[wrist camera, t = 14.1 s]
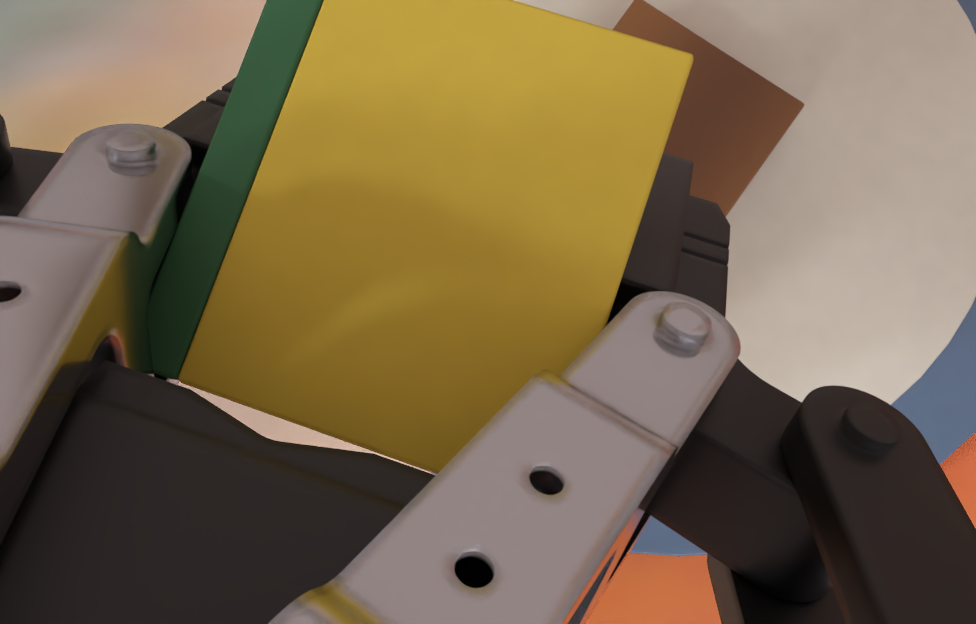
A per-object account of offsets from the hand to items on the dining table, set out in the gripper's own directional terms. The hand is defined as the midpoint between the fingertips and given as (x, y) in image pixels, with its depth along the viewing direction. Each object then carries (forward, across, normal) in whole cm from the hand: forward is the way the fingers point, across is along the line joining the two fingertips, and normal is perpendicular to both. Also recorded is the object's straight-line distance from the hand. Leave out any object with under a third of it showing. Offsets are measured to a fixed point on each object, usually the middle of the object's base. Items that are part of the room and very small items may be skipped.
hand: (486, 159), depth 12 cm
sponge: (+2, 0, +4) cm, 5 cm away
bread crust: (+5, -3, +1) cm, 6 cm away
